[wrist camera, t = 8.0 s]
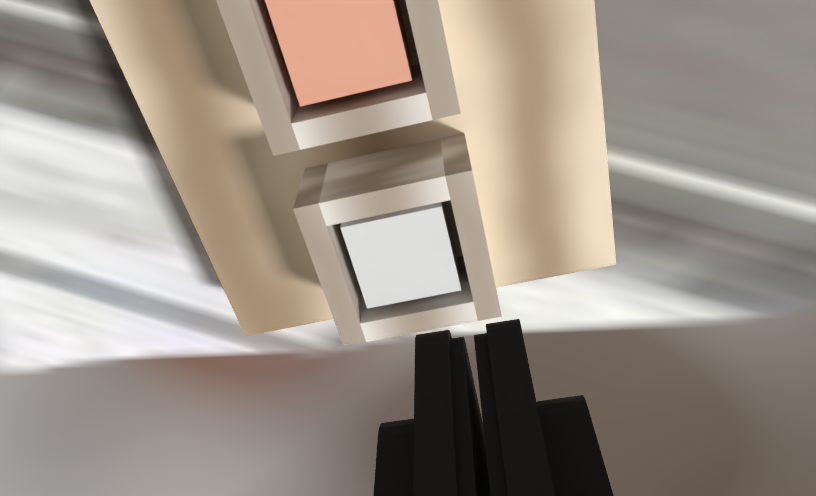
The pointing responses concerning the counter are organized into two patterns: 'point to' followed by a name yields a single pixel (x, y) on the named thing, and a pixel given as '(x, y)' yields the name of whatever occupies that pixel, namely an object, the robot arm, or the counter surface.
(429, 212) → the pale grey key
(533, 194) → the key panel
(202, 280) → the counter surface
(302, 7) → the terracotta key
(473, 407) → the robot arm
